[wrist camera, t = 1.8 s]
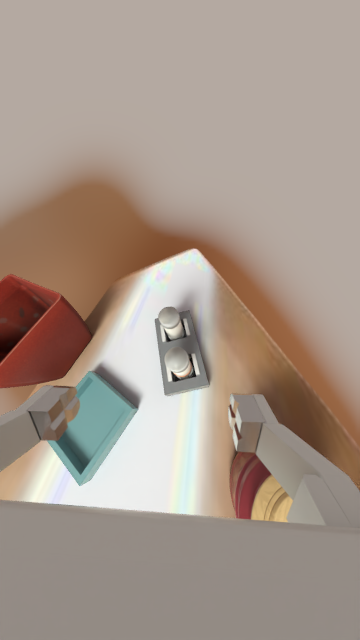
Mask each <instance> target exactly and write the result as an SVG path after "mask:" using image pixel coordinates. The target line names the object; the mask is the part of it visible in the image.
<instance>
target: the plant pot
mask: <svg viewBox="0 0 360 640" xmlns="http://www.w3.org/2000/svg"><path fill="white" fill-rule="evenodd" d="M91 338H92V335H91V333H90V331H89V329H88V327H87V325H86V324H85V322H84V321H83V319H82V318H81V316H80V315H79V314H78V313H77V311H76V310H75V309H74V308H73V307H72V306H71V305H70V304H69V302H68V301H67V300H66V299H65V298H64V297H63V296H62V295H61V294H59V293H57V292H54V291H52V290H49V289H47V288H44V287H42V286H39V285H37V284H34V283H32V282H29V281H27V280H25V279H22V278H19V277H17V276H15V275H13V274H10V275H7V276H6V277H4V278H3V279H2V280H1V281H0V388H10V387H19V386H26V385H34V384H39V383H45V382H49V381H53V380H57V379H60V378H63V377H64V376H65V374H66V373H67V372H68V370H69V369H70V368H71V366H72V365H73V363H74V362H75V361H76V359H77V358H78V357H79V355H80V354H81V352H82V351H83V350H84V348H85V347H86V345H87V344H88V343H89V341H90V340H91Z"/></svg>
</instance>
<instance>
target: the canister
mask: <svg viewBox="0 0 360 640" xmlns="http://www.w3.org/2000/svg"><path fill="white" fill-rule="evenodd" d="M230 492H231V498H232V503H233V507H234V510H235V513H236V518H238V519H251V520H264V521H276V522H288V520H287V518H286V517H287V515H288V512H289V510H290V507H291V505H292V502H293V500H292V499H291V498H290V496H289V495H288V494H287V493H286V491H285V490H284V489H283V488H282V486H281V485H280V484H279V483H278V481H277V480H276V479H275V478H274V476H273V475H272V474H271V473H270V471H269V470H268V469H267V468H266V466H265V465H264V464H263V463H262V461H261V460H260V459H259V458H258V456H257V455H256V453H251V452H240V451H239V452H238V454H237V455H236V457H235V459H234V461H233V464H232V467H231V472H230Z"/></svg>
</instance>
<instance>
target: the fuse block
mask: <svg viewBox="0 0 360 640" xmlns="http://www.w3.org/2000/svg"><path fill="white" fill-rule="evenodd" d="M179 316H180V321H181V324H182V325H184V326H185V330H186V334H187V337H186V338H182V339H178V340H174V341H170V342H168V336H167V332H166V331H165V329H164V327H163V326H162V325H161V323H160V321H159V319H158V318H157V319H155V325H156V333H157V340H158V348H159V355H160V363H161V370H162V378H163V385H164V393H165V395H166V396H171V395H176V394H180V393H184V392H189V391H193V390H197V389H202V388H206V387H209V383H208V380H207V376H206V372H205V368H204V364H203V361H202V357H201V353H200V349H199V346H198V342H197V338H196V334H195V330H194V327H193V323H192V319H191V315H190V312H189V310H188V311H184V312H180V313H179ZM173 347H181V348H183V349H184V350H185V351H186V352H187V355H188V357H189V358H192V360H193V364H194V368H195V373H196V376H197V377H193V378H189V379H185V380H181V381H176V382H175V378H174V373H173V372H172V371H171V370H170V369H169V368H168V367H167V366H166V364H165V360H164V359H165V355H166V353H167V351H168V350H169V349H171V348H173Z"/></svg>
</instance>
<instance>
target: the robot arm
mask: <svg viewBox="0 0 360 640" xmlns="http://www.w3.org/2000/svg"><path fill="white" fill-rule="evenodd" d="M76 394H77V390H76V388H75V387H68V386H50V385H46V386H43V387H42V388H40V389H39V390H38V391H37V392H36V393H35V394H33V395H32V396H31V397H30V398H29V399H28V400H26V401H25V402H24V403H23V404H22V405H21V406H20V407H18V408H17V409H16V410H15V411H10V412H7V413H5V414H3V415H1V416H0V472H1V471H2V470H4V469H5V468H6V467H7V466H9V465H10V464H11V463H13V462H14V461H15V460H17V459H18V458H19V457H21V456H22V455H23V454H24V453H26V452H27V451H28V450H30V449H31V448H32V447H34V446H35V445H36V444H38V443H39V442H40V440H51V441H58V440H59V439H60V437H61V436H62V435H63V433H64V432H65V431H66V429H67V428H68V423H69V422H70V421H72V420H73V419H74V418H75V417H76V415H77V414H78V411H79V408H80V401H79V399H78V398H77V397H76ZM230 402H231V405H230V406H229V410H228V416H229V423H230V427H231V428H232V429H233V440H234V444H235V448H236V451H240V452H251V453H256V455H257V456H258V458H259V459H260V460H261V461H262V463H263V464H264V465H265V466H266V468H267V469H268V470H269V471H270V473H271V474H272V475H273V476H274V478H275V479H276V480H277V481H278V483H279V484H280V485H281V486H282V488H283V489H284V490H285V491H286V493H287V494H288V495H289V496H290V498H291V499H292V500H293V502H292V505H291V507H290V510H289V512H288V515H287V517H286V518H287V520H288V522H276V521H264V520H251V519H238V518H226V517H213V516H200V515H188V514H175V513H162V512H150V511H137V510H124V509H112V508H99V507H86V506H73V505H61V504H48V503H35V502H22V501H10V500H0V640H360V491H359V490H358V488H357V487H356V485H355V484H354V483H353V481H352V480H351V479H350V477H349V476H348V475H347V474H345V473H344V472H343V471H341V470H340V469H339V468H338V467H336V466H335V465H334V464H333V463H331V462H330V461H329V460H327V459H326V458H325V457H324V456H322V455H321V454H320V453H319V452H317V451H316V450H315V449H313V448H312V447H311V446H310V445H308V444H307V443H306V442H305V441H303V440H302V439H301V438H300V437H298V436H297V435H296V434H294V433H293V432H292V431H291V430H289V429H288V428H287V427H286V426H284V425H283V424H279V423H278V421H277V419H276V417H275V415H274V414H273V412H272V410H271V408H270V406H269V405H268V403H267V401H266V399H265V397H264V396H263V395H262V394H232V393H231V395H230Z"/></svg>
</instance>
